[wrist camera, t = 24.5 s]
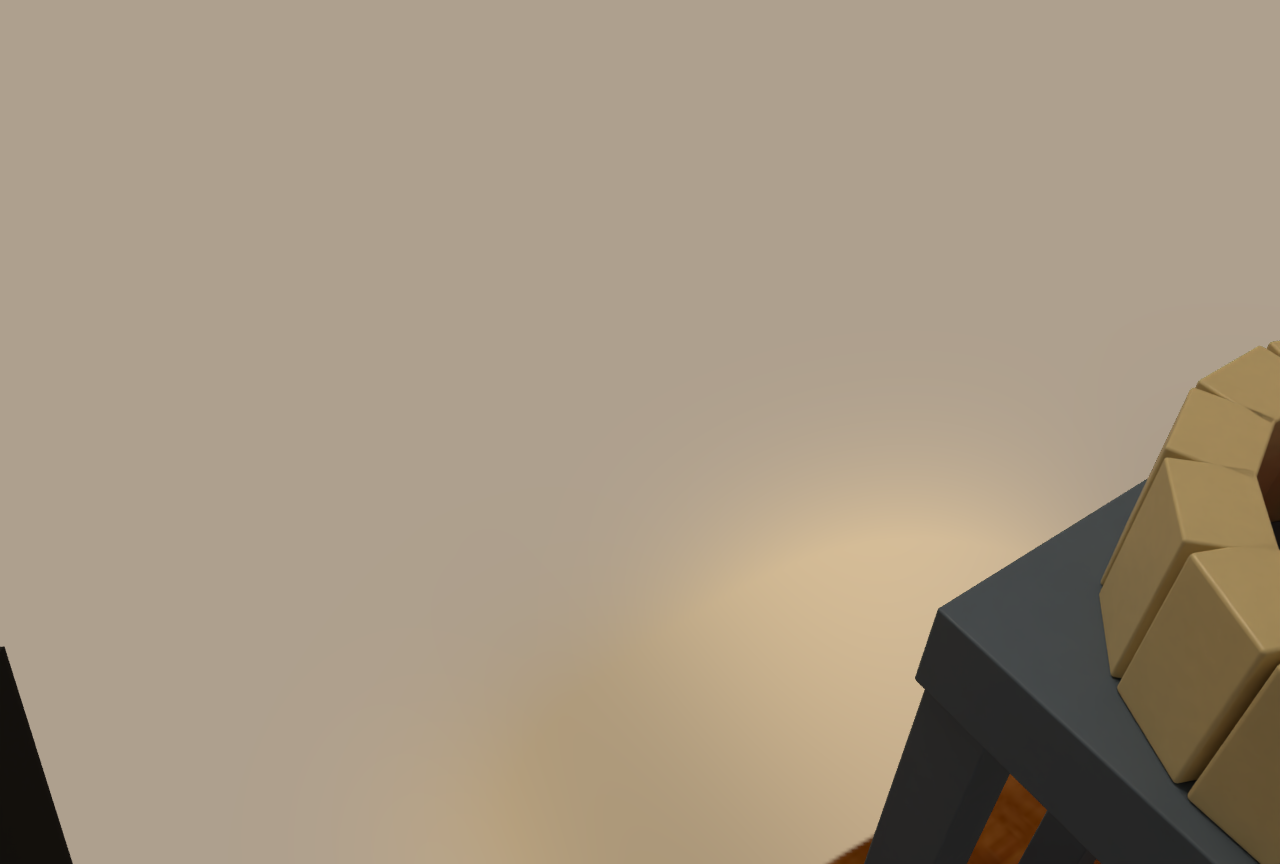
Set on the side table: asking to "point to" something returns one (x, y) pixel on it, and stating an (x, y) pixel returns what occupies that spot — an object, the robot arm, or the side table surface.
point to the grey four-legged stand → (1120, 666)
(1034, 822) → the side table surface
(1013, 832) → the side table surface
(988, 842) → the side table surface
